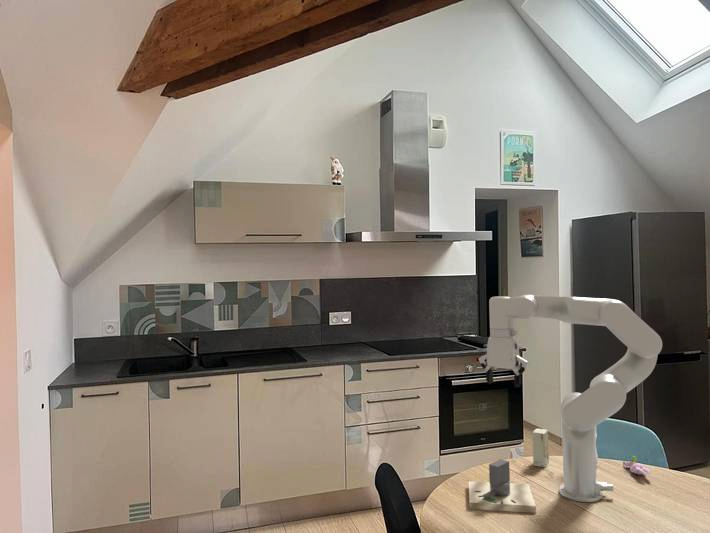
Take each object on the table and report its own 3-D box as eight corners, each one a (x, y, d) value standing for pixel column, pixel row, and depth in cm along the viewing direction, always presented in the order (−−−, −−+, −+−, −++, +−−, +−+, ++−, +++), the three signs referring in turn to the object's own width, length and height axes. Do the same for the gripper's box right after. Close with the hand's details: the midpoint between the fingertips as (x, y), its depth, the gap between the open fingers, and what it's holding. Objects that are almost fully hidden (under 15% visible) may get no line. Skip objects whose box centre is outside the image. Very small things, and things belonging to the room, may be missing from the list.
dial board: (528, 490, 167) (528, 483, 167) (536, 512, 152) (535, 505, 152) (468, 487, 171) (468, 480, 171) (469, 509, 155) (469, 501, 155)
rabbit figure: (618, 470, 186) (638, 479, 171) (616, 452, 187) (636, 460, 172) (636, 470, 185) (657, 479, 171) (634, 452, 186) (655, 460, 172)
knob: (497, 486, 166) (496, 457, 166) (514, 491, 161) (513, 462, 161) (476, 496, 159) (475, 467, 159) (493, 502, 154) (492, 472, 154)
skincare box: (545, 468, 186) (544, 434, 186) (533, 466, 188) (531, 432, 188) (549, 462, 191) (548, 429, 191) (537, 460, 193) (536, 427, 194)
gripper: (531, 333, 170) (533, 386, 169) (483, 331, 181) (485, 380, 181) (522, 336, 164) (524, 390, 164) (472, 333, 175) (474, 384, 175)
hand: (503, 384), depth 172 cm, fingers open, 9 cm apart
